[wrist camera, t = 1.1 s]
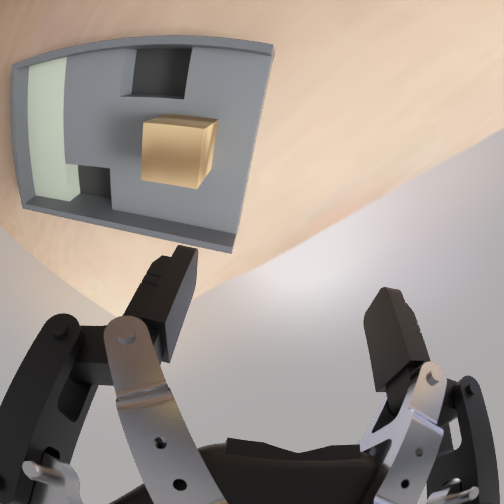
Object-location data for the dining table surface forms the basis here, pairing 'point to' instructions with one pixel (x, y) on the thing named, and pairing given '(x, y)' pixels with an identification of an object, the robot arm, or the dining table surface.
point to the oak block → (178, 149)
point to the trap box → (137, 132)
